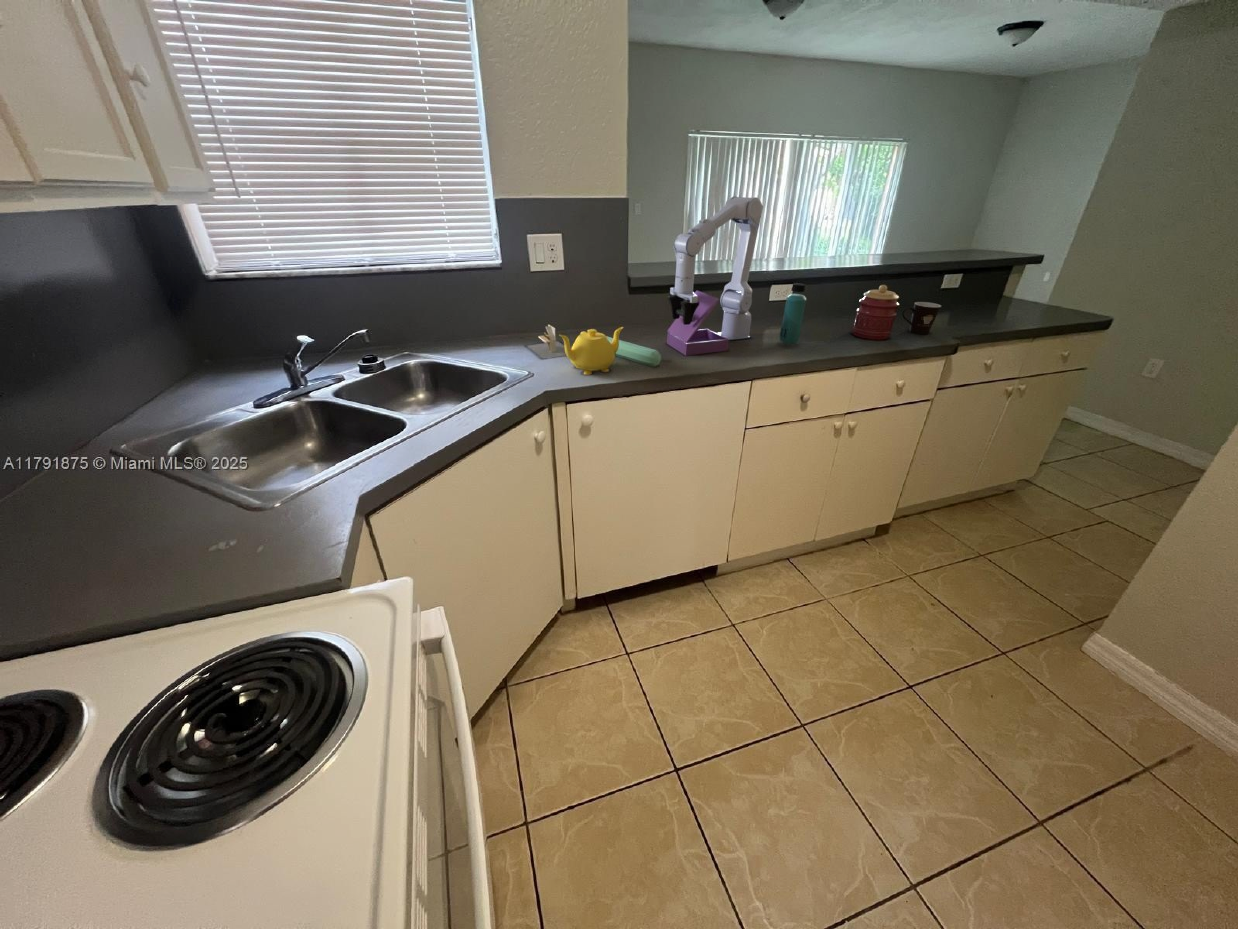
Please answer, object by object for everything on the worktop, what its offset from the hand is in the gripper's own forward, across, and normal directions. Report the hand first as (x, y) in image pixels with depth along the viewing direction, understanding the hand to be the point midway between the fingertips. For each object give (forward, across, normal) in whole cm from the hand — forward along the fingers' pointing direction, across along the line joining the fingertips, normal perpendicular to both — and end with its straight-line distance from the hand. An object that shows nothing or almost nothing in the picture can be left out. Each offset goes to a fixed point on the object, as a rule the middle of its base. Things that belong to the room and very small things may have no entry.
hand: (681, 321), depth 156 cm
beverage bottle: (+9, +8, +38) cm, 40 cm away
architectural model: (+9, -13, -40) cm, 43 cm away
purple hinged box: (-1, 0, +4) cm, 4 cm away
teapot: (+9, +8, -33) cm, 36 cm away
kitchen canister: (+9, +8, +75) cm, 76 cm away
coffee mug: (+9, +9, +96) cm, 96 cm away
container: (+9, +3, -20) cm, 23 cm away
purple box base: (+9, 0, +7) cm, 11 cm away
